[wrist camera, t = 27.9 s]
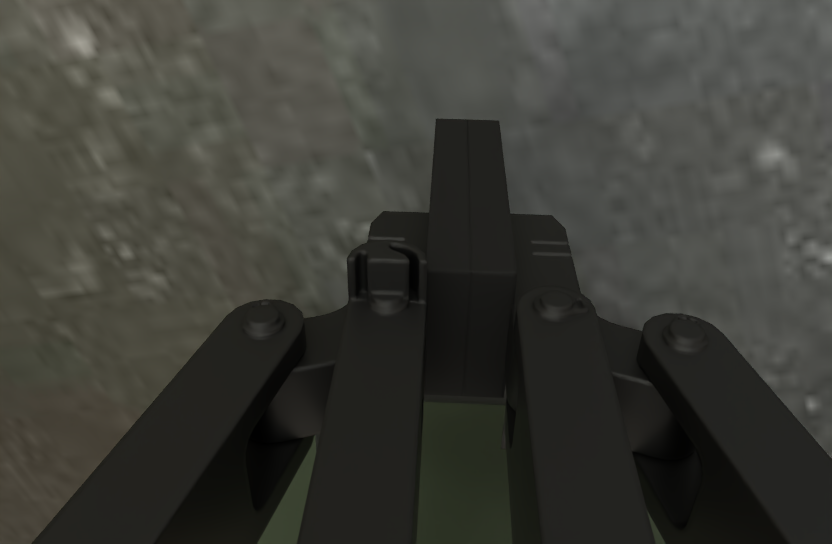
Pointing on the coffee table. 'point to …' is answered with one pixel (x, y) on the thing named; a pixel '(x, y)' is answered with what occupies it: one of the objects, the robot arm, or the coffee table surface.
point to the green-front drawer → (439, 478)
